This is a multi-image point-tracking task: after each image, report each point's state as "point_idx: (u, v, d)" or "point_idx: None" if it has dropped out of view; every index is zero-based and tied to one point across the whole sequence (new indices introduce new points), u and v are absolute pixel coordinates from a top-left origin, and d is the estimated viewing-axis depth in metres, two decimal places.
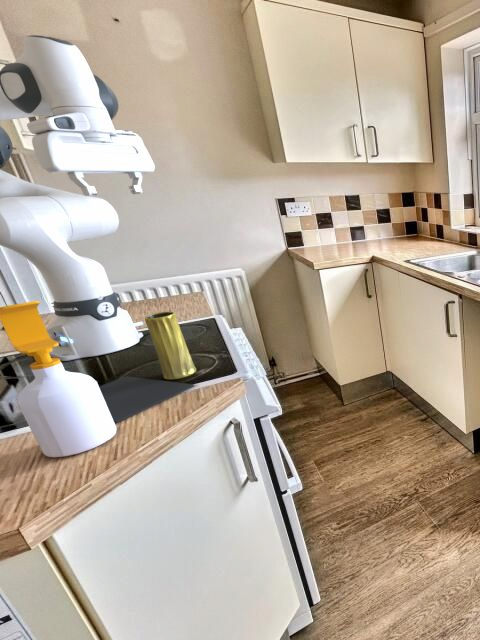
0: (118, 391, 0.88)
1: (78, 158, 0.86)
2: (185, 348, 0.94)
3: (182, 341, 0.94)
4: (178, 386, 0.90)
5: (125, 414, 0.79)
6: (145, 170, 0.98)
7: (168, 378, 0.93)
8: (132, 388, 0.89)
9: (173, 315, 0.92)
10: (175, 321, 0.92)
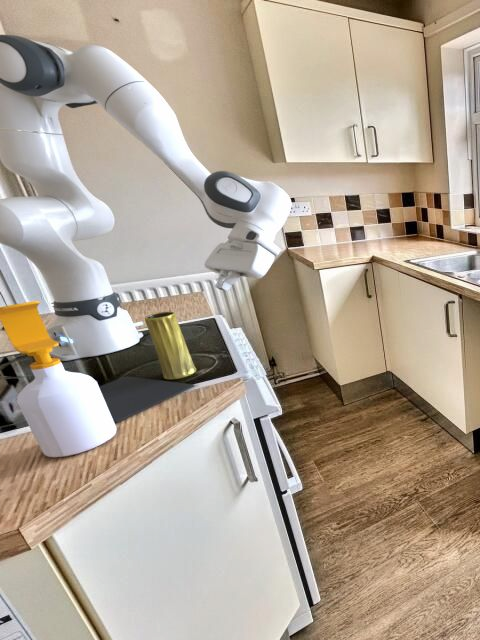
0: (118, 391, 0.88)
1: None
2: (185, 348, 0.94)
3: (182, 341, 0.94)
4: (178, 386, 0.90)
5: (125, 414, 0.79)
6: None
7: (168, 378, 0.93)
8: (132, 388, 0.89)
9: (173, 315, 0.92)
10: (175, 321, 0.92)
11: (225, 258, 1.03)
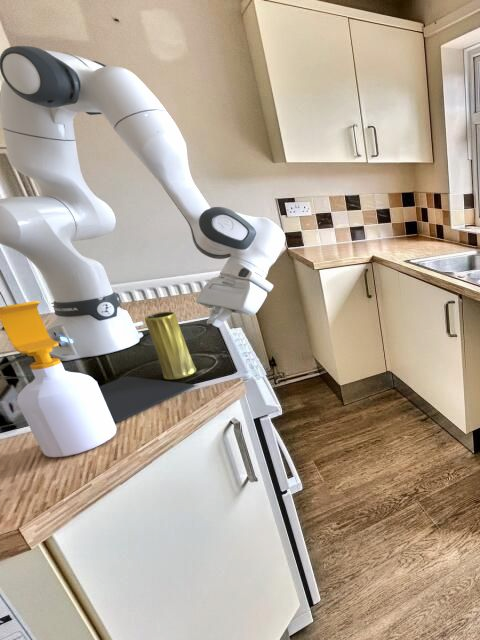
0: (118, 391, 0.88)
1: None
2: (185, 348, 0.94)
3: (182, 341, 0.94)
4: (178, 386, 0.90)
5: (125, 414, 0.79)
6: None
7: (168, 378, 0.93)
8: (132, 388, 0.89)
9: (173, 315, 0.92)
10: (175, 321, 0.92)
11: (217, 294, 1.02)
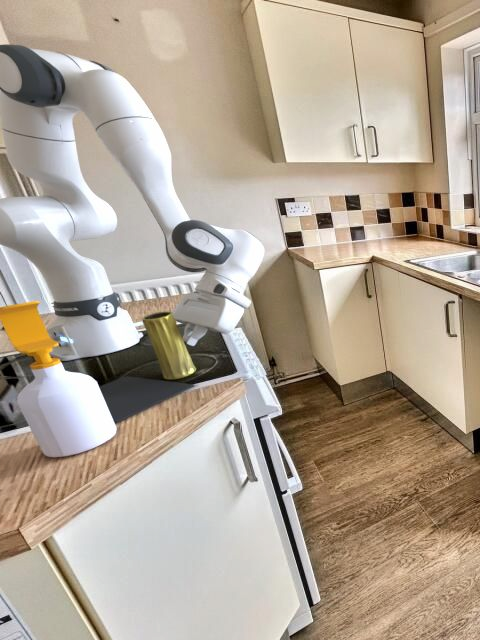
0: (118, 391, 0.88)
1: None
2: (184, 348, 0.94)
3: (181, 341, 0.93)
4: (178, 386, 0.90)
5: (125, 414, 0.79)
6: None
7: (168, 378, 0.93)
8: (132, 388, 0.89)
9: (170, 315, 0.91)
10: (173, 321, 0.92)
11: (192, 311, 0.98)
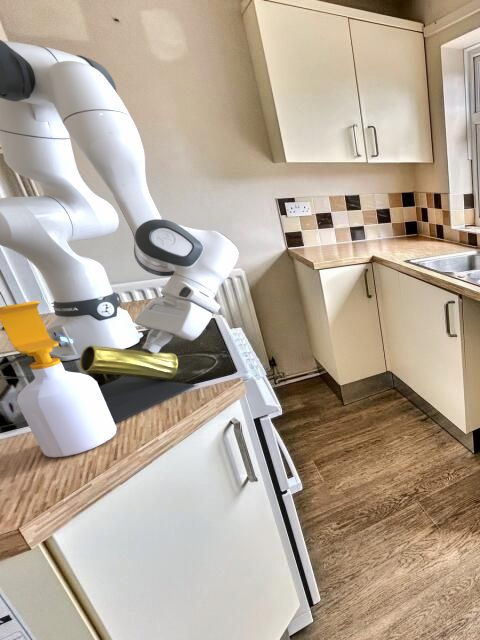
0: (118, 391, 0.88)
1: None
2: (144, 358, 0.88)
3: (135, 357, 0.86)
4: (178, 386, 0.90)
5: (125, 414, 0.79)
6: None
7: (166, 379, 0.93)
8: (132, 388, 0.89)
9: (97, 353, 0.81)
10: (106, 353, 0.82)
11: (157, 316, 0.92)
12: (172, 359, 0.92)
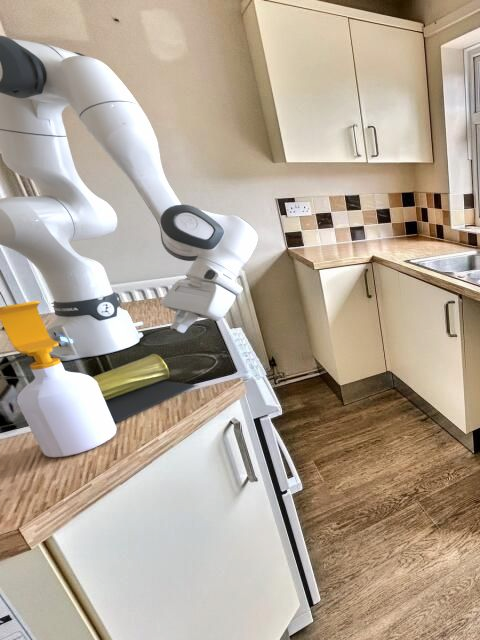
0: None
1: None
2: (130, 373, 0.86)
3: (121, 377, 0.85)
4: (178, 386, 0.90)
5: (125, 414, 0.79)
6: None
7: (165, 379, 0.93)
8: None
9: None
10: None
11: (182, 298, 0.96)
12: (157, 362, 0.90)
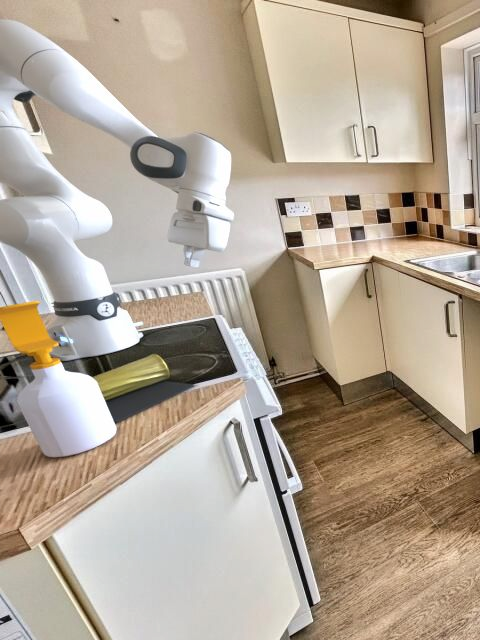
0: None
1: None
2: (130, 374, 0.86)
3: (121, 378, 0.85)
4: (178, 386, 0.90)
5: (125, 414, 0.79)
6: None
7: (165, 379, 0.93)
8: None
9: None
10: None
11: (183, 232, 0.97)
12: (158, 362, 0.90)
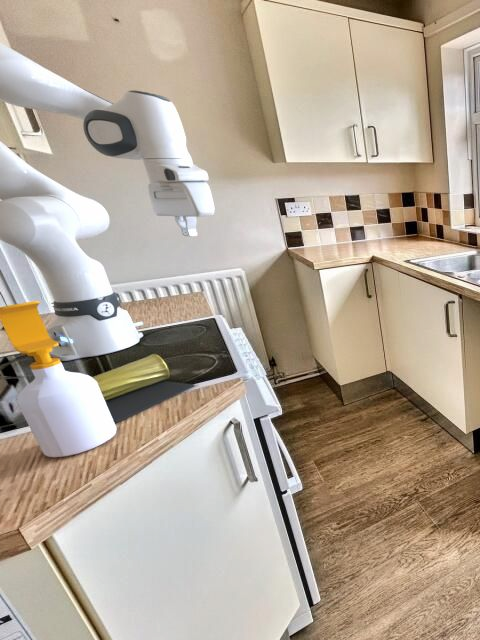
0: None
1: None
2: (130, 374, 0.86)
3: (121, 378, 0.85)
4: (178, 386, 0.90)
5: (125, 414, 0.79)
6: None
7: (165, 379, 0.93)
8: None
9: None
10: None
11: (168, 204, 0.97)
12: (158, 362, 0.90)
